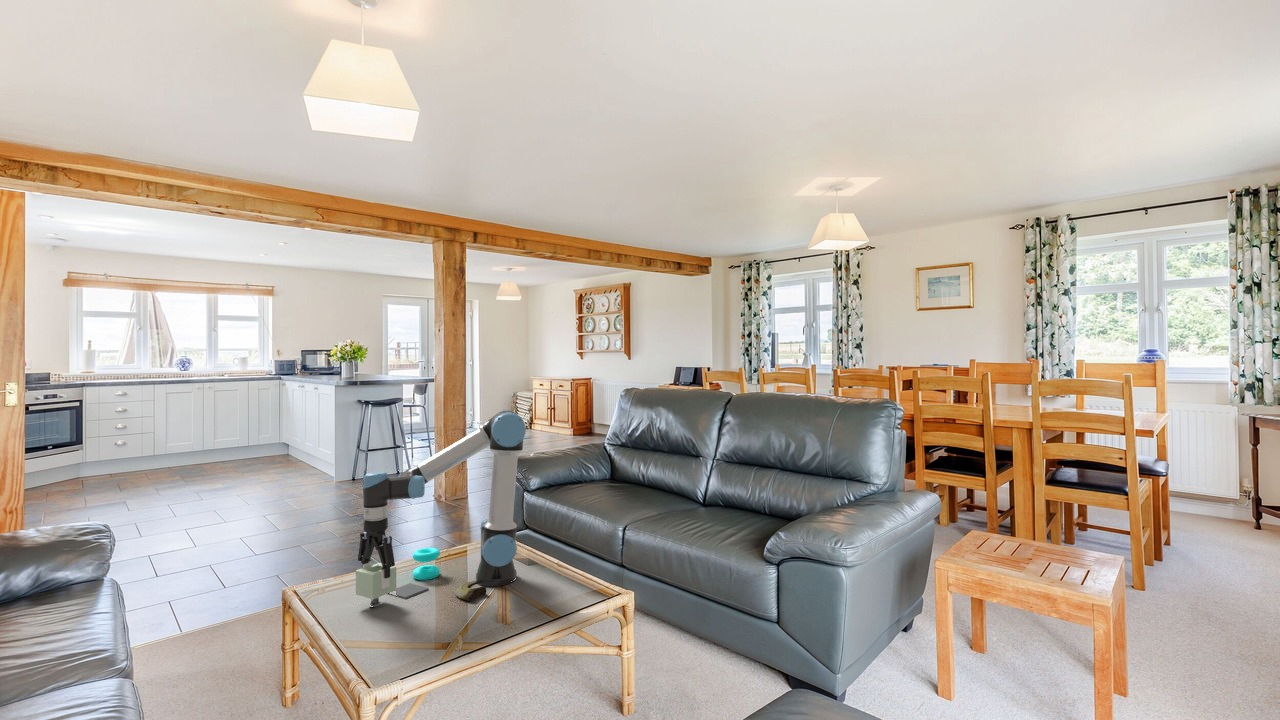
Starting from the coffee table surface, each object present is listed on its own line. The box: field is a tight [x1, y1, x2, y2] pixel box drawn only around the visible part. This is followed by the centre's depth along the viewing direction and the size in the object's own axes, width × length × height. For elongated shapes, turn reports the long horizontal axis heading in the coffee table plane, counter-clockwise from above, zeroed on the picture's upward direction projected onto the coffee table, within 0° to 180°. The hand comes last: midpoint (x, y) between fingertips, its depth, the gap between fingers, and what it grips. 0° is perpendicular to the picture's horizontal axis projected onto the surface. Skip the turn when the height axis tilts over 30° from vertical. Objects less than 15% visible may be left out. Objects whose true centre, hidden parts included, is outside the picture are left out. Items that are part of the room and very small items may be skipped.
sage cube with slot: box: [355, 562, 397, 600], centre depth 198 cm, size 9×9×8 cm
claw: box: [454, 580, 487, 602], centre depth 210 cm, size 20×10×3 cm, turn 23°
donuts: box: [412, 547, 441, 581], centre depth 226 cm, size 10×10×10 cm
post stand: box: [369, 597, 382, 608], centre depth 198 cm, size 4×4×9 cm
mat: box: [396, 582, 430, 600], centre depth 210 cm, size 10×10×1 cm
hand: (376, 584), depth 198 cm, fingers closed on sage cube with slot, 9 cm apart
